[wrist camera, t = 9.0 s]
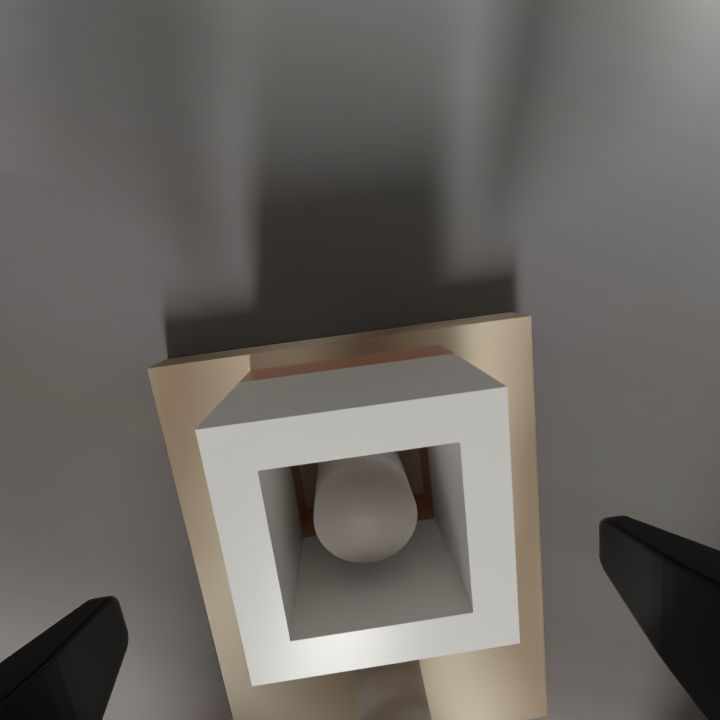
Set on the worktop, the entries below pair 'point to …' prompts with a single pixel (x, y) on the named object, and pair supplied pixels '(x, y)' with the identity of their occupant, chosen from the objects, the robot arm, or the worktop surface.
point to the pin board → (442, 674)
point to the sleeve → (378, 579)
